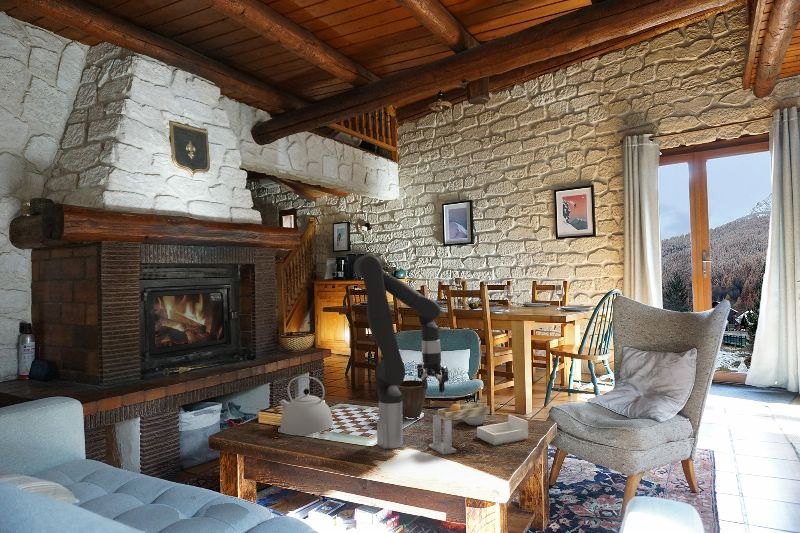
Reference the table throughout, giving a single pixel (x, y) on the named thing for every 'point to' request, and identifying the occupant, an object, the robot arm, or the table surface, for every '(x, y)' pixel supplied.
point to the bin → (504, 431)
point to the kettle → (305, 413)
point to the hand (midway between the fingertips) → (433, 390)
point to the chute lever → (463, 412)
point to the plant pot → (412, 398)
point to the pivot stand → (447, 436)
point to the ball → (455, 407)
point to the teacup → (475, 417)
